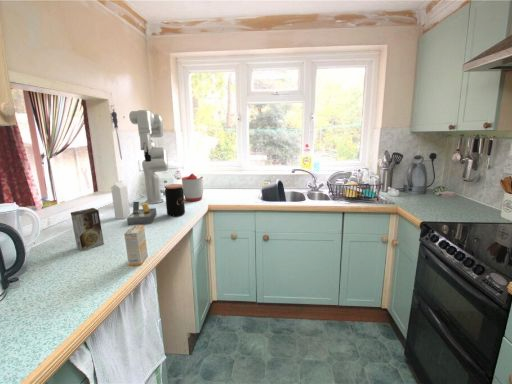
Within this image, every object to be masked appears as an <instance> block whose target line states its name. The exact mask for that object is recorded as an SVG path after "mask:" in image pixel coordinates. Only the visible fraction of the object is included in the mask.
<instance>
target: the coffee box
mask: <svg viewBox="0 0 512 384" xmlns="http://www.w3.org/2000/svg"><path fill="white" fill-rule="evenodd" d="M70 216H71V217H70V218H71V222H72V227H73V233H74V239H75V244H76V248H77V249H78V250H80V251H82V252H83V251H86V250H90V249H93V248H95V247H96V248H97V247H98V246H101V245H104V244H105V242H104V236H103V229H102V224H101V219H100V218H101V217H100V212H99V209H97V208H95V207H90V208H85V209H82V210H76V211H71V212H70Z"/></svg>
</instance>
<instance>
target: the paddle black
mask: <svg viewBox="0 0 512 384" xmlns="http://www.w3.org/2000/svg"><path fill="white" fill-rule="evenodd" d="M132 207H133V208H132V213H139V209H140V201H133V202H132Z"/></svg>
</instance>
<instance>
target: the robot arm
mask: <svg viewBox="0 0 512 384" xmlns="http://www.w3.org/2000/svg"><path fill="white" fill-rule="evenodd" d="M129 121H130V122H131V124H132V125H137V130H138V136H139V142H140V150H141V151H143V157H144V160H143V161H142V163H141V166H142V170H143V174H144V181H145V190H146V200H145V202H144V203H148V205H150V204H151V205H153V204H161V203H162V202H164V198H162V197H161V196H162V194H161V184H160V177H159V176H158V174H156V173H161V172H163V173H164V172H166V171H168V169H169V159H168V153H167V149H166V148H165V147H164V146H163V147H160V146H159V147H157V144H156V142H154V140H152V139H153V138H162V137H163V136H164V127H163V126H164V125H163V124H164V123H163V119H162V117H161V115H160V114H155V113H153V112H152V111H150V110H146V109H140V110H139V109H138V110H132V111H130V112H129Z"/></svg>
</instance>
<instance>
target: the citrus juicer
mask: <svg viewBox="0 0 512 384" xmlns="http://www.w3.org/2000/svg"><path fill="white" fill-rule="evenodd" d="M203 179H204V177H203V176H200V177H199V178H198V177H197V176H196V175H195V174H194V173H190V175H189V176H183V177H181V184H182V185H183V187H182V188H183V192H184V200H185V201H188V202H196V201H200V200H202V199H203V196H204V180H203Z"/></svg>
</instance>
